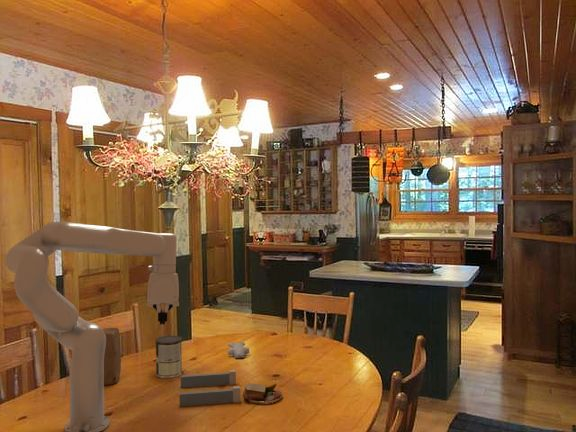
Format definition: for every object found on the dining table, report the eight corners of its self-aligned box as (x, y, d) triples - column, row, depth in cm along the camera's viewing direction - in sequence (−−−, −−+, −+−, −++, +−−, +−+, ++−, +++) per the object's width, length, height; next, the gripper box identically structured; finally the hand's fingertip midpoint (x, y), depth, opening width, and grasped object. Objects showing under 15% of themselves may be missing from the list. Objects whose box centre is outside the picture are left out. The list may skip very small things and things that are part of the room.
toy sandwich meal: (278, 407, 166) (278, 392, 166) (239, 404, 168) (239, 390, 168) (284, 393, 178) (284, 380, 178) (247, 391, 180) (247, 378, 180)
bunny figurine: (229, 351, 216) (226, 338, 231) (229, 362, 217) (226, 349, 232) (250, 349, 218) (246, 337, 233) (250, 361, 219) (246, 347, 234)
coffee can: (150, 374, 198) (150, 339, 198) (171, 368, 206) (171, 334, 206) (166, 380, 192) (166, 343, 191) (187, 373, 200) (187, 338, 199)
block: (116, 385, 186) (115, 332, 185) (95, 386, 185) (94, 332, 185) (123, 375, 196) (122, 325, 196) (103, 376, 196) (103, 325, 195)
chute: (240, 402, 170) (240, 388, 169) (179, 406, 166) (179, 392, 166) (235, 382, 188) (235, 369, 188) (180, 386, 185) (180, 373, 185)
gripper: (140, 270, 164) (138, 326, 163) (186, 270, 166) (184, 325, 166) (142, 268, 171) (140, 321, 171) (186, 268, 174) (185, 321, 173)
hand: (162, 323), depth 168 cm, fingers closed
